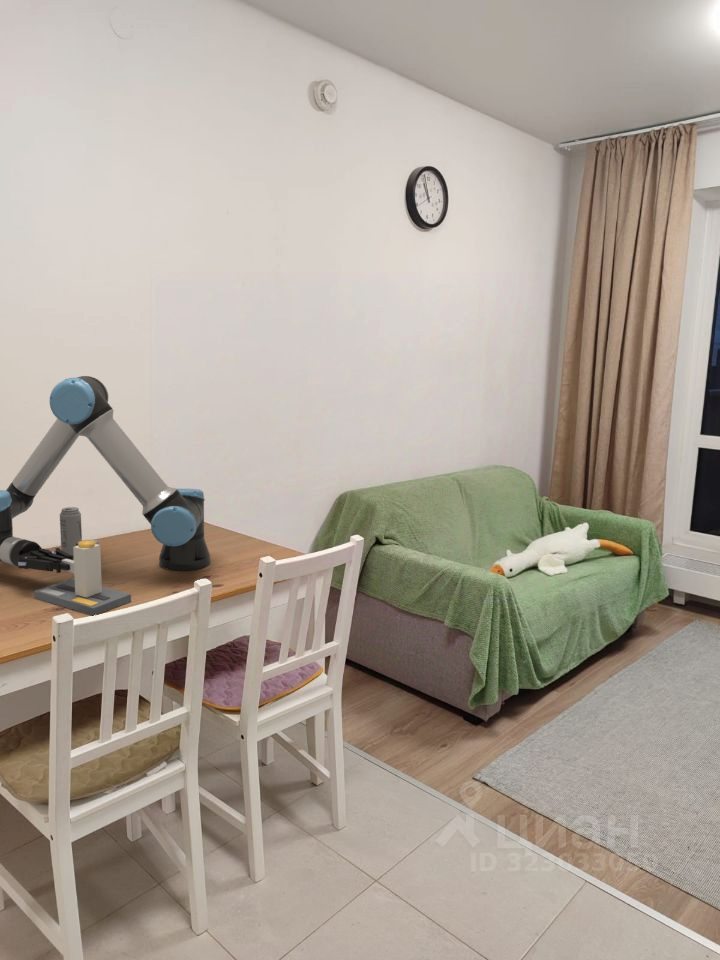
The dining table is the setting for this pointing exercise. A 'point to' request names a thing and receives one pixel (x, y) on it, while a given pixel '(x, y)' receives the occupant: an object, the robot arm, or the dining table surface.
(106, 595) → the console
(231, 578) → the dining table surface
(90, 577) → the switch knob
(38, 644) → the dining table surface
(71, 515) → the energy drink can
